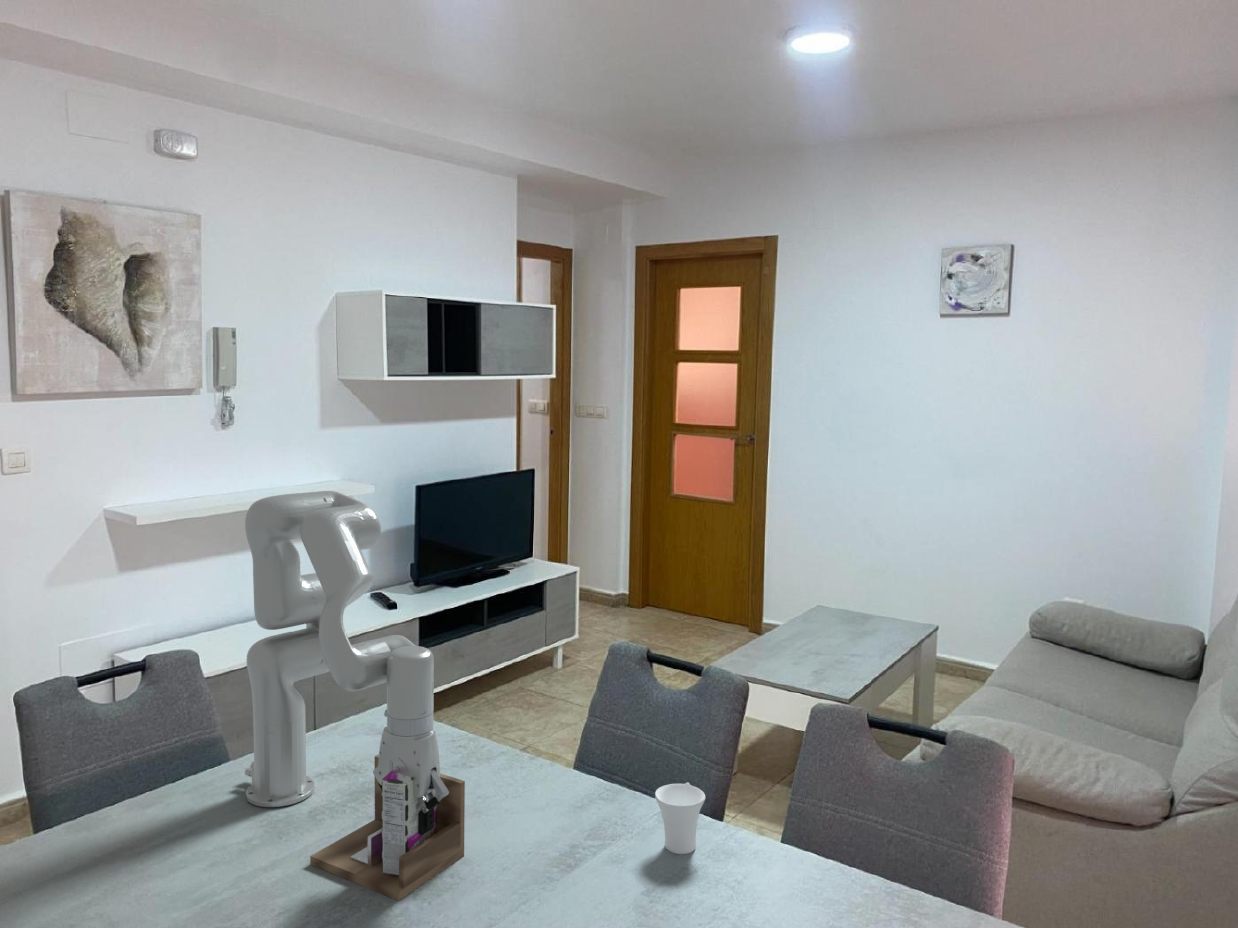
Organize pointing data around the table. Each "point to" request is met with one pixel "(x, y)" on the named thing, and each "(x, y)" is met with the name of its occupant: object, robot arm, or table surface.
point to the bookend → (371, 850)
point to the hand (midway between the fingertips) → (409, 824)
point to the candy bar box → (400, 820)
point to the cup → (680, 815)
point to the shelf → (413, 863)
